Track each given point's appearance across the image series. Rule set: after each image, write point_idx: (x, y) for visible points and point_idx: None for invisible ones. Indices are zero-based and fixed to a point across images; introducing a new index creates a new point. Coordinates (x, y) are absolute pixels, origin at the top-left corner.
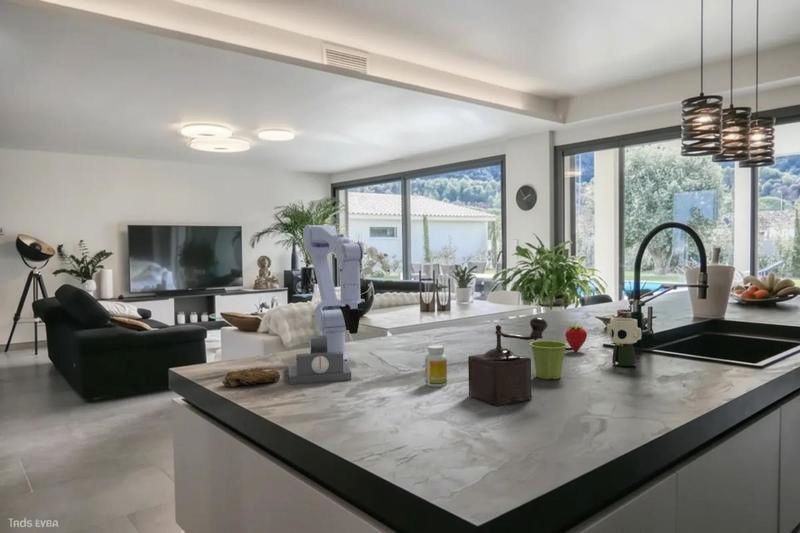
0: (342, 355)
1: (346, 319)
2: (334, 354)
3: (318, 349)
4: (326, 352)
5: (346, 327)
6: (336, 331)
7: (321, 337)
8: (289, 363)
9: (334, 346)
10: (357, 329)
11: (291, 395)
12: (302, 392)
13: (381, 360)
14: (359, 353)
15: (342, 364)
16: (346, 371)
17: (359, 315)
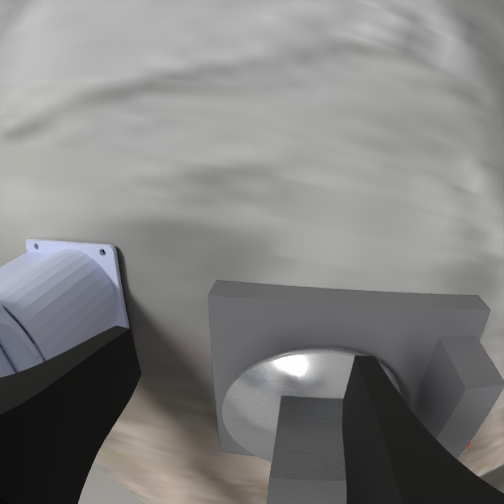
0: (501, 380)
1: (94, 434)
2: (489, 410)
3: None
4: (442, 436)
5: (132, 390)
6: (41, 359)
7: (332, 492)
8: (239, 452)
9: (88, 327)
10: (386, 377)
11: (499, 425)
12: (497, 411)
13: (151, 89)
14: (17, 179)
15: (486, 356)
16: (469, 324)
17: (477, 489)
